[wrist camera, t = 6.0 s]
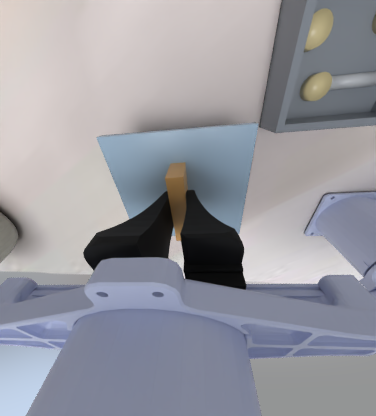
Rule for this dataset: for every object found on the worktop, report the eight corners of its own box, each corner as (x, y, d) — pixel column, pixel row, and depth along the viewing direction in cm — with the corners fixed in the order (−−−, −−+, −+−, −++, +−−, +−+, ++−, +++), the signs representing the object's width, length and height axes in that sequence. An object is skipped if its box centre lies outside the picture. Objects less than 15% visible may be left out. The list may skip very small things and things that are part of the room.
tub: (462, -60, 10) (599, -142, 6) (367, 118, 15) (413, 122, 12) (287, -32, 11) (328, -92, 7) (259, 126, 16) (275, 133, 13)
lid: (251, 121, 11) (277, 130, 8) (236, 224, 17) (246, 255, 14) (106, 133, 12) (70, 146, 9) (140, 227, 18) (128, 257, 15)
